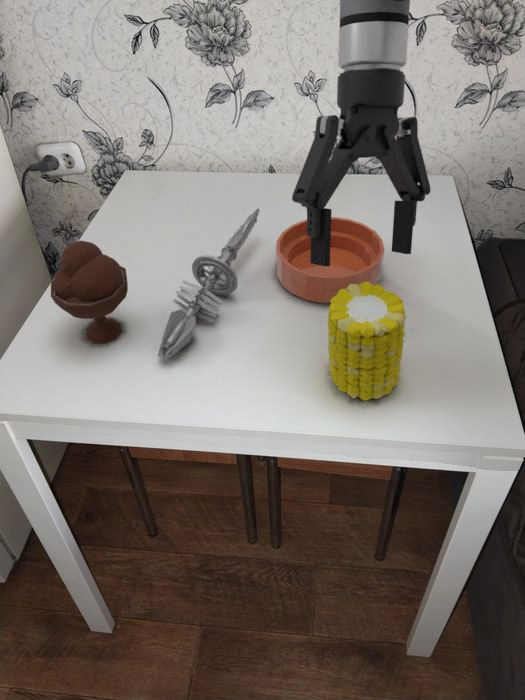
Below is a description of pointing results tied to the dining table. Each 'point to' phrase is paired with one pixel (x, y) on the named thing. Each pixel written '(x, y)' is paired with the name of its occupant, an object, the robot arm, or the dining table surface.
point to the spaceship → (204, 291)
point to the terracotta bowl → (345, 260)
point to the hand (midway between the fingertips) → (362, 258)
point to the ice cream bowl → (90, 288)
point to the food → (365, 340)
